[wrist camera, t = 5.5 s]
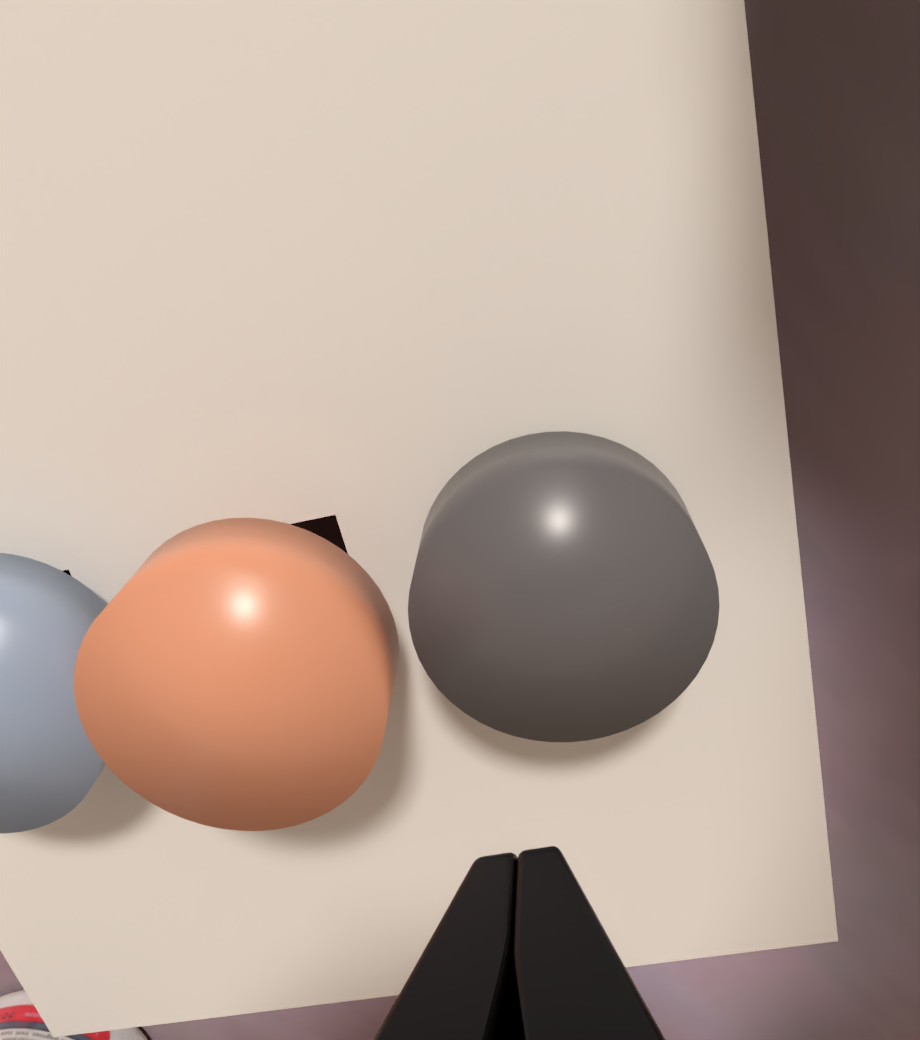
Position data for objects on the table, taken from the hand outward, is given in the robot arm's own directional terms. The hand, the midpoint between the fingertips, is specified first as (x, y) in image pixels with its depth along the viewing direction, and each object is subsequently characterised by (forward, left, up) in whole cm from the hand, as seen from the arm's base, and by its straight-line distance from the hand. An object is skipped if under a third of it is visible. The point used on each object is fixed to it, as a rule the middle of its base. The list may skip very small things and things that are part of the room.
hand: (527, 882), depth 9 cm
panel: (+4, 0, -9) cm, 10 cm away
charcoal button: (-1, 0, -8) cm, 9 cm away
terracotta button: (+4, 0, -7) cm, 9 cm away
